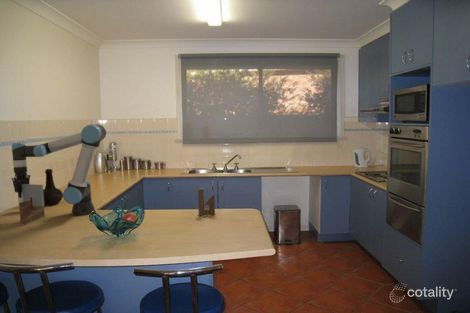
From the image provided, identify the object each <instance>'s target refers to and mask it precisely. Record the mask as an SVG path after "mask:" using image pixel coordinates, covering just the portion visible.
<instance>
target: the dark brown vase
mask: <svg viewBox="0 0 470 313" xmlns="http://www.w3.org/2000/svg"><path fill="white" fill-rule="evenodd" d="M44 173H45V186H44V188H43V194H44V206H54V204H55V205H57V204H59V203H61V201H62V200H63V199H64V198H63V191H62V190H60V189H59V188H57V187H56V186H55V181H54V176H53V173H54V171H53V169H52V168H47V169H45V171H44Z"/></svg>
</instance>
